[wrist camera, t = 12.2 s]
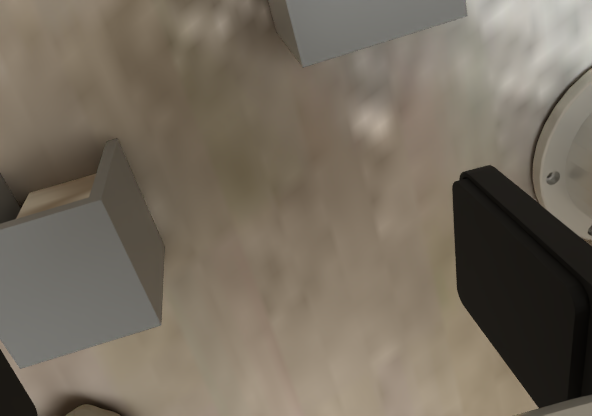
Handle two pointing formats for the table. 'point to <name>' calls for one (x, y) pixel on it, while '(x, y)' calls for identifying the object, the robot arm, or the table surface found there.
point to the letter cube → (57, 195)
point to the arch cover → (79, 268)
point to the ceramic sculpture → (91, 411)
